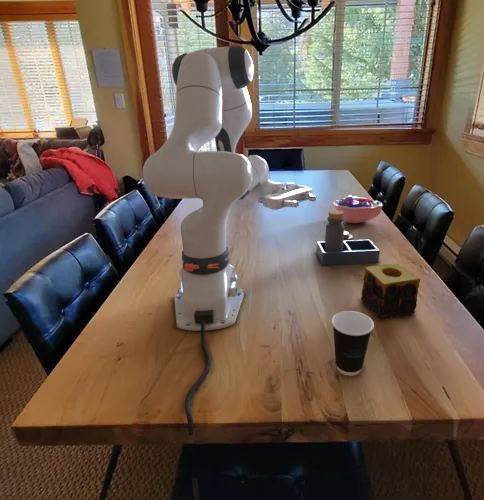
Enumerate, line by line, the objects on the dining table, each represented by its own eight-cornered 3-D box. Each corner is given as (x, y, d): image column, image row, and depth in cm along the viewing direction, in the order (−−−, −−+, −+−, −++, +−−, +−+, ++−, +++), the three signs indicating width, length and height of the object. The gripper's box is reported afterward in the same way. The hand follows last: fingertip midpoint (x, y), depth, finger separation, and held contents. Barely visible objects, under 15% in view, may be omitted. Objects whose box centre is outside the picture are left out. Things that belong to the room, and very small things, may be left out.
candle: (379, 321, 90) (383, 285, 86) (359, 300, 99) (362, 266, 95) (416, 314, 93) (422, 278, 89) (393, 294, 102) (397, 261, 98)
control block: (357, 248, 131) (358, 240, 130) (335, 249, 131) (335, 241, 129) (349, 238, 140) (350, 230, 139) (328, 239, 140) (329, 231, 139)
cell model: (386, 228, 150) (389, 200, 145) (336, 229, 150) (337, 201, 145) (374, 214, 165) (377, 189, 161) (329, 215, 165) (330, 190, 161)
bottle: (330, 250, 128) (332, 208, 122) (345, 254, 124) (348, 211, 118) (321, 256, 123) (323, 212, 117) (336, 260, 120) (339, 216, 114)
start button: (349, 238, 133) (350, 234, 132) (339, 239, 133) (340, 234, 132) (346, 235, 136) (347, 230, 135) (337, 235, 136) (337, 231, 135)
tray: (378, 262, 121) (379, 250, 119) (322, 265, 119) (322, 253, 118) (368, 250, 129) (369, 239, 128) (316, 253, 128) (316, 241, 126)
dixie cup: (349, 387, 71) (354, 339, 66) (320, 364, 77) (323, 319, 72) (377, 370, 75) (382, 324, 71) (347, 349, 81) (351, 306, 76)
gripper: (254, 191, 125) (285, 198, 117) (294, 181, 139) (324, 186, 130) (255, 209, 128) (285, 217, 119) (294, 197, 141) (323, 204, 133)
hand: (306, 201), depth 125 cm, fingers open, 8 cm apart
